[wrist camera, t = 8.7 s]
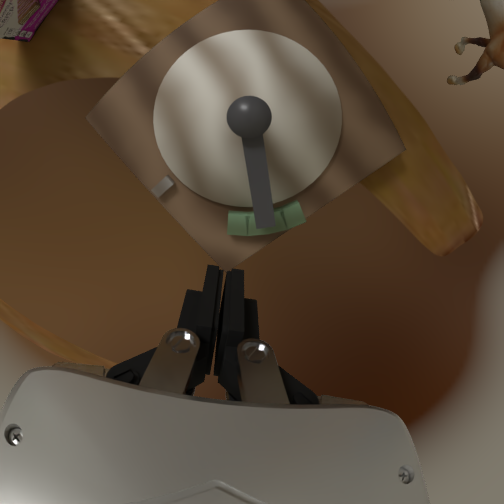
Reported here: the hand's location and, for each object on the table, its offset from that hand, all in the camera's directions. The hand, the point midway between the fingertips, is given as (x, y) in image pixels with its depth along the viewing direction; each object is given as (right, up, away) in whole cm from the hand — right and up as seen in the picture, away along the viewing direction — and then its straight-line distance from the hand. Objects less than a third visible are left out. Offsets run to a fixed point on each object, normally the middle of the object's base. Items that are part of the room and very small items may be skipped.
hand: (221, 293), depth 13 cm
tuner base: (+1, +17, +15) cm, 22 cm away
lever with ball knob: (+2, +12, +14) cm, 18 cm away
